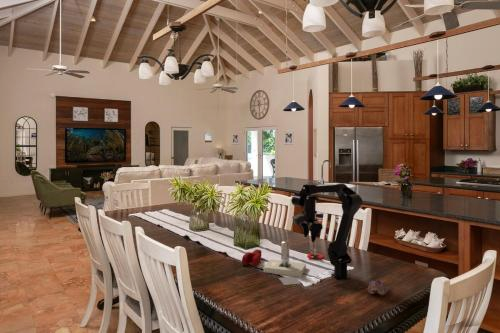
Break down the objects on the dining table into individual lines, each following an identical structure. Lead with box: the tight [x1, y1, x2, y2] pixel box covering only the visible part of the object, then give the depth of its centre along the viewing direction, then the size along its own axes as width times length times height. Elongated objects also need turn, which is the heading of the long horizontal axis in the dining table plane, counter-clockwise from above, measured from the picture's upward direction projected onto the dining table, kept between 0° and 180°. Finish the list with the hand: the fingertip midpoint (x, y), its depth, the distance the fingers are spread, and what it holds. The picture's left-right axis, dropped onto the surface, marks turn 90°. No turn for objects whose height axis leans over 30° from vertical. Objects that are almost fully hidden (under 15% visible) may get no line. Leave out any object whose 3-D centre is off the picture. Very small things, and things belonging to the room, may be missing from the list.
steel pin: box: [280, 240, 290, 268], centre depth 169 cm, size 4×4×14 cm
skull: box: [366, 279, 389, 296], centre depth 144 cm, size 12×8×6 cm, turn 136°
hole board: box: [263, 258, 307, 278], centre depth 170 cm, size 18×12×3 cm, turn 71°
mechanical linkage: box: [241, 248, 262, 268], centre depth 182 cm, size 16×7×5 cm, turn 159°
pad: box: [278, 276, 302, 286], centre depth 157 cm, size 8×8×1 cm
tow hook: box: [306, 238, 324, 261], centre depth 189 cm, size 8×13×9 cm
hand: (309, 239), depth 176 cm, fingers open, 9 cm apart
